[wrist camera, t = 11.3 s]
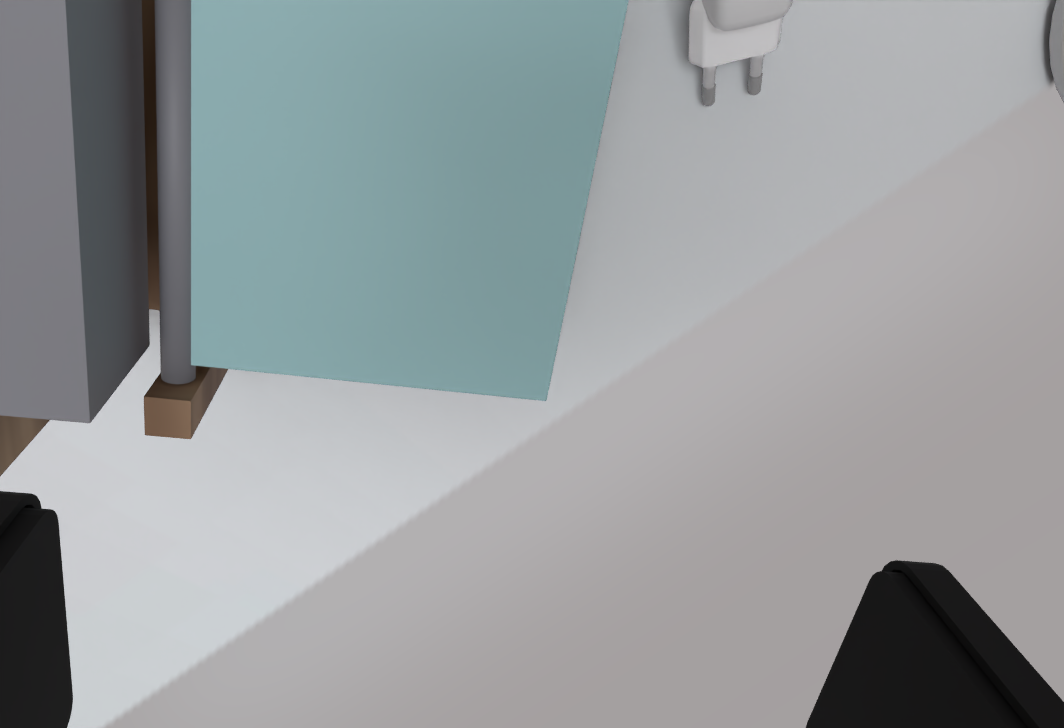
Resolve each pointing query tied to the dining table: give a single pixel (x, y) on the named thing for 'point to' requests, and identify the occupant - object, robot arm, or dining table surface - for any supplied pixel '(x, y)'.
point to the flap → (295, 190)
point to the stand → (164, 403)
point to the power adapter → (733, 37)
